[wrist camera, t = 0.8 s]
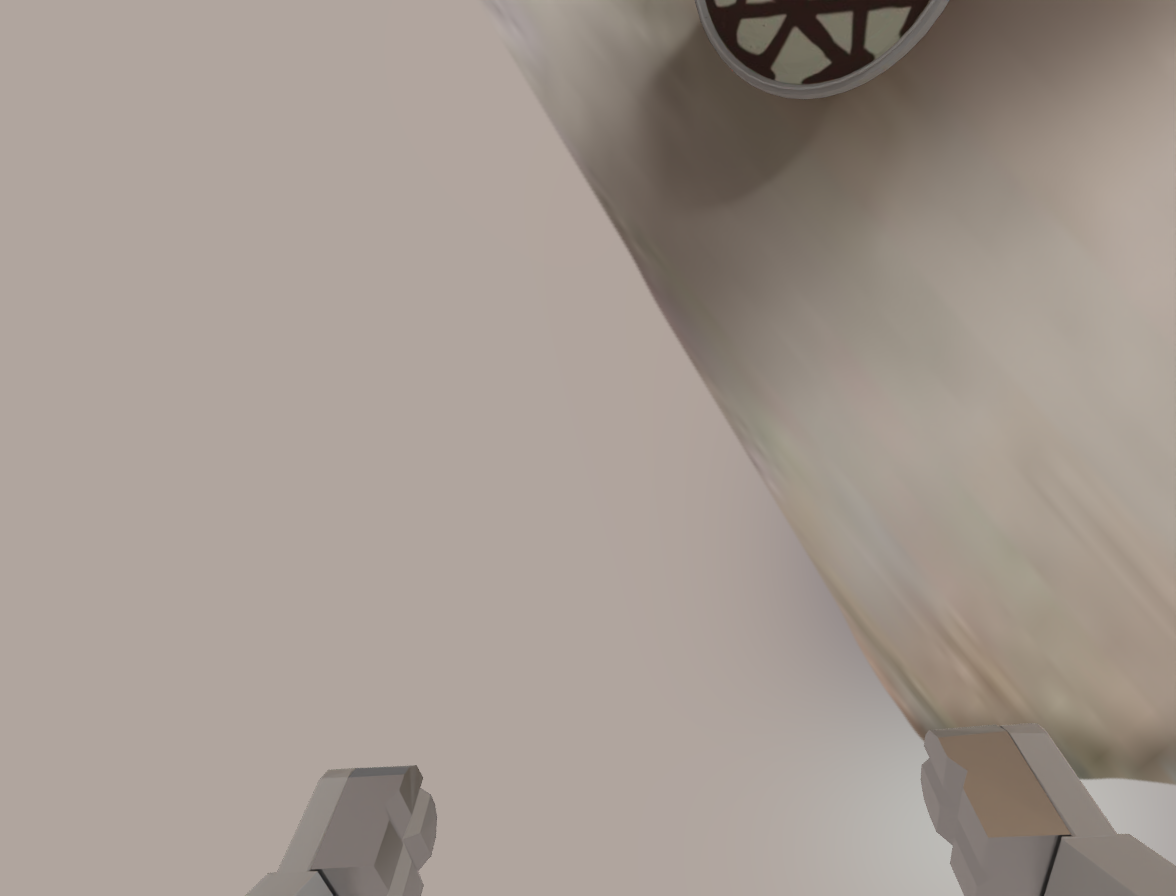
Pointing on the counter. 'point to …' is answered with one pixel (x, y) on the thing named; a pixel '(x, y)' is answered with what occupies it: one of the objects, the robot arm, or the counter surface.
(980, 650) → the counter surface
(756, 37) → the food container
